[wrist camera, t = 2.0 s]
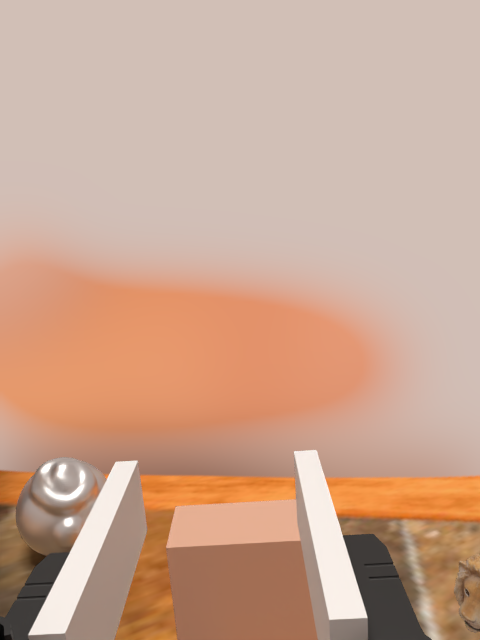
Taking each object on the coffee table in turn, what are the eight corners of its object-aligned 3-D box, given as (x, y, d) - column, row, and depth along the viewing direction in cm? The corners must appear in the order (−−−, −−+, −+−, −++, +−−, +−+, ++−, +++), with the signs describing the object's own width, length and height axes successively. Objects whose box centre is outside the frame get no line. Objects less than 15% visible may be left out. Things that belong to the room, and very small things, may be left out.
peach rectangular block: (192, 647, 34) (175, 506, 32) (313, 641, 34) (307, 498, 31) (185, 703, 30) (166, 548, 28) (322, 697, 30) (316, 539, 27)
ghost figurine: (10, 593, 41) (-12, 493, 38) (37, 524, 50) (20, 440, 47) (115, 574, 42) (100, 476, 40) (123, 510, 51) (111, 427, 49)
